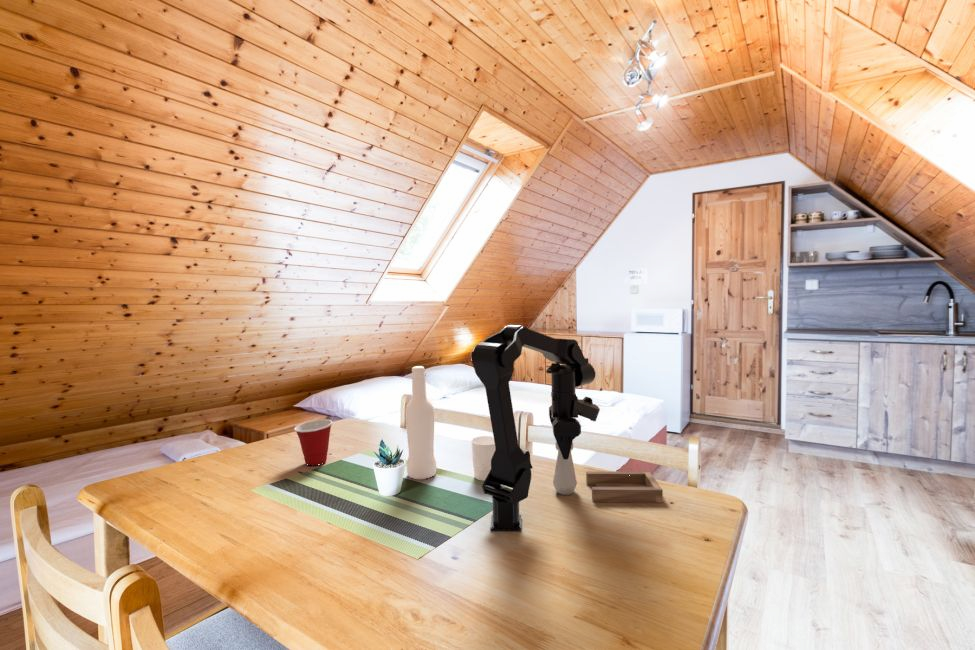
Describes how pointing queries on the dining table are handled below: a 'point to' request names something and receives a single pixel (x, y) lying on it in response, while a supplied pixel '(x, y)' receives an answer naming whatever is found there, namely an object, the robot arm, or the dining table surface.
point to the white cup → (482, 455)
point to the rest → (624, 487)
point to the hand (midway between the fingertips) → (564, 452)
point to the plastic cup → (314, 440)
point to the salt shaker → (564, 474)
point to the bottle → (420, 429)
